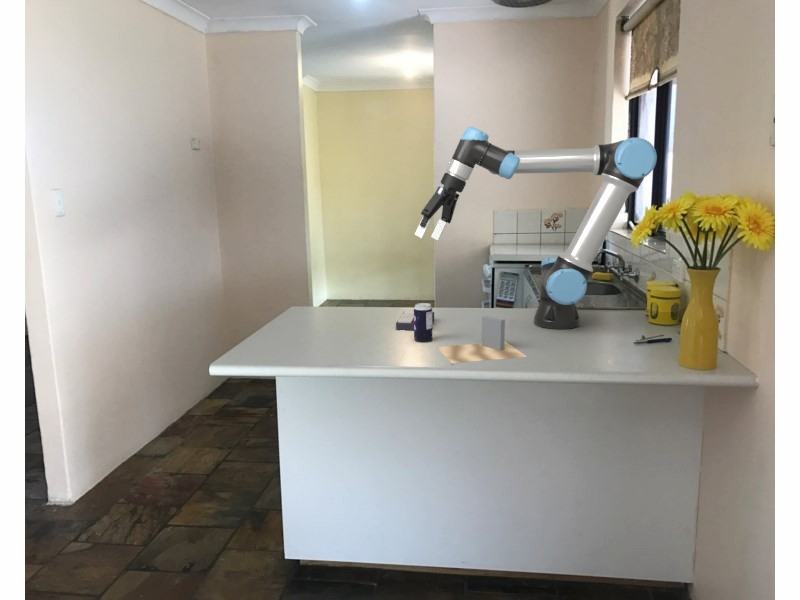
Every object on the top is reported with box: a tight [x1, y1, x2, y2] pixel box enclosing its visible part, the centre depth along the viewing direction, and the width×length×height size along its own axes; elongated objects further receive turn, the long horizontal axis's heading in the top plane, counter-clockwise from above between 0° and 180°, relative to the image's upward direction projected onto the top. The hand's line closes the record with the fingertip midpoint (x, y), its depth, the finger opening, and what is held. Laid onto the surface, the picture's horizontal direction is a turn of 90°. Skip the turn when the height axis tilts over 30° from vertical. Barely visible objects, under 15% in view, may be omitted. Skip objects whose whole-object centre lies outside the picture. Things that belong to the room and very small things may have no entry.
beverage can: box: [413, 302, 433, 344], centre depth 182 cm, size 6×6×12 cm
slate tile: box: [481, 315, 506, 351], centre depth 173 cm, size 2×7×9 cm, turn 42°
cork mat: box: [436, 341, 528, 366], centre depth 170 cm, size 22×16×1 cm
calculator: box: [395, 310, 435, 332], centre depth 203 cm, size 11×4×15 cm
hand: (426, 237), depth 188 cm, fingers open, 13 cm apart
